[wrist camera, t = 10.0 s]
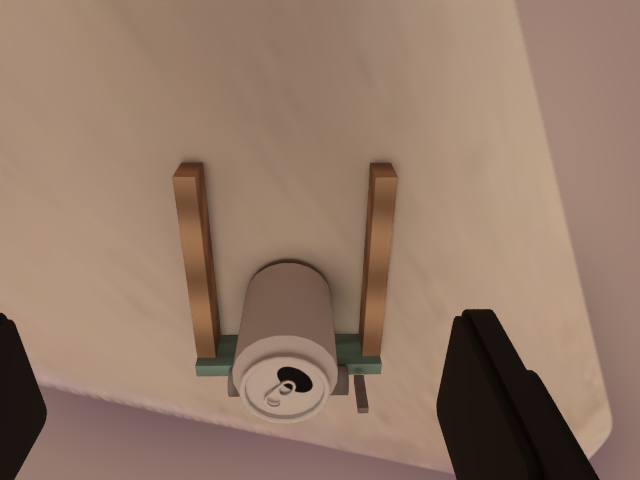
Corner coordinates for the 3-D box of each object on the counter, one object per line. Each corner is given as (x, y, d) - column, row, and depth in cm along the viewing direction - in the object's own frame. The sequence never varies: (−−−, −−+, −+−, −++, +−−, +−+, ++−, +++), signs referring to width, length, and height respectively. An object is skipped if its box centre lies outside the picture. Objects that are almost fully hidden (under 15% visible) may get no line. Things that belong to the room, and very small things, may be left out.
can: (347, 293, 43) (362, 394, 33) (289, 339, 46) (285, 447, 35) (288, 241, 41) (283, 333, 30) (229, 293, 43) (205, 395, 32)
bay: (181, 162, 37) (150, 210, 29) (391, 163, 38) (413, 210, 30) (205, 350, 46) (186, 423, 38) (374, 348, 47) (388, 420, 39)
